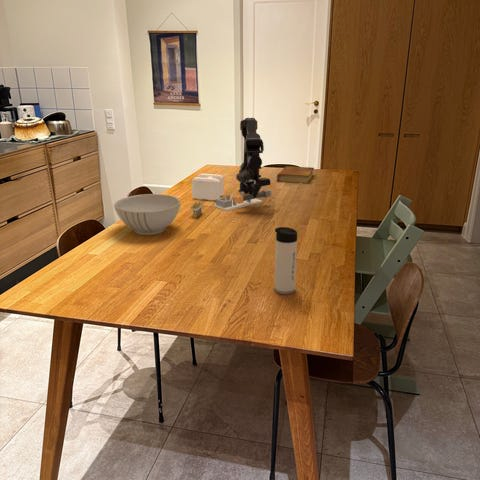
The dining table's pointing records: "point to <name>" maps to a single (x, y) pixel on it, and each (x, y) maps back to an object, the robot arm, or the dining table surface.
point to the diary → (295, 175)
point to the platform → (197, 209)
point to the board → (232, 205)
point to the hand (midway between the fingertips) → (252, 196)
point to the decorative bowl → (148, 212)
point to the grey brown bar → (252, 196)
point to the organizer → (207, 187)
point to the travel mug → (285, 260)
